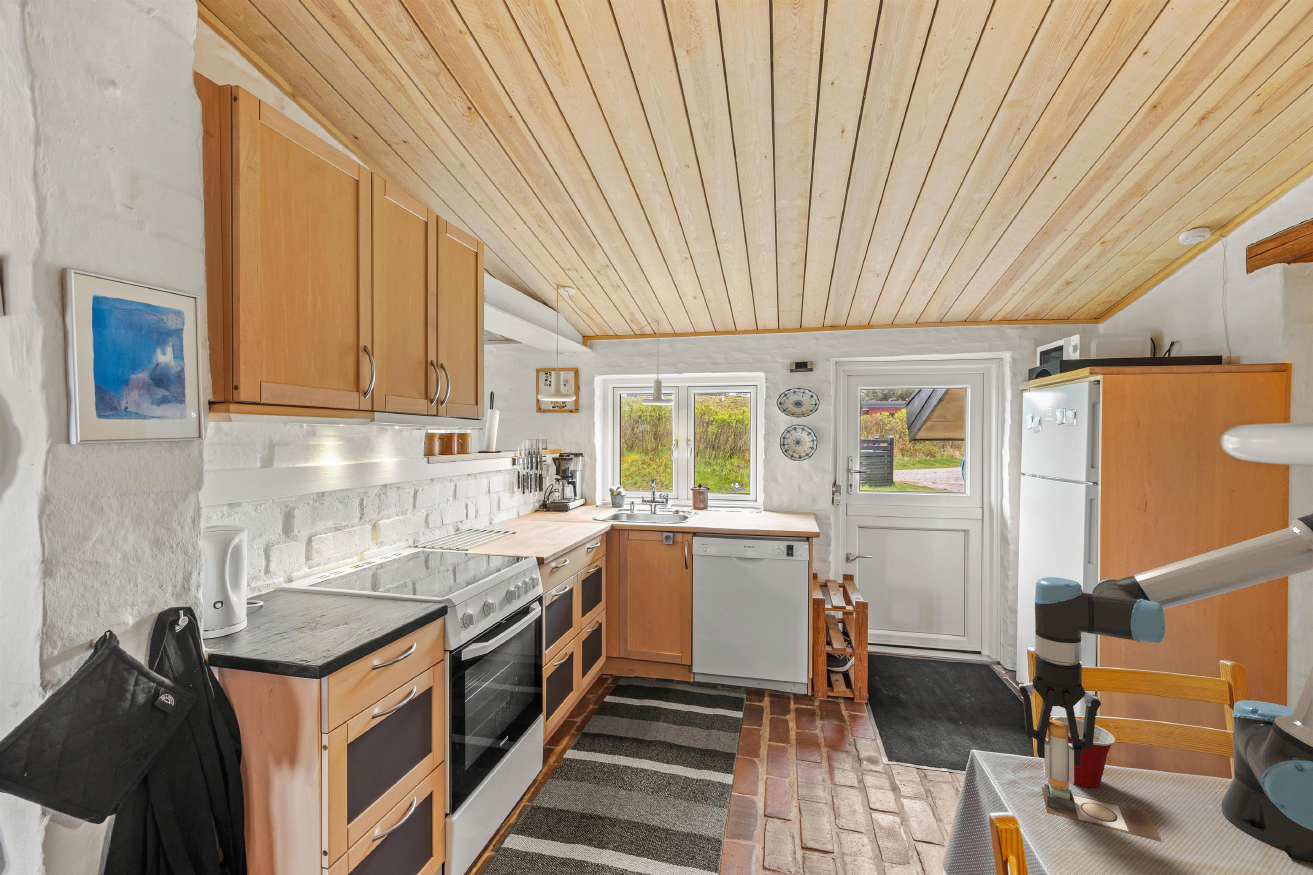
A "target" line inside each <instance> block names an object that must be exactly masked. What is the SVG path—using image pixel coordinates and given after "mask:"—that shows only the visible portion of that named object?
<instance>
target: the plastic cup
mask: <svg viewBox="0 0 1313 875" xmlns="http://www.w3.org/2000/svg"><path fill="white" fill-rule="evenodd" d="M1075 719H1076V724H1077V729H1078V734H1079V739H1083V730H1084V720H1082V719H1080V718H1075ZM1051 720H1058V721H1061V722H1064V723H1066V724H1067V725H1068V721H1067V716H1054V717H1053V718H1052V719H1051ZM1115 741H1116V737H1115V736H1114V735H1113V734H1112V733H1111V732H1110V731H1107V730H1106V729H1105V728H1103V727H1100V726H1098V725H1097V724H1095V729H1094V739H1093V748H1092V749H1087V748H1085V749H1082V751H1081V764H1080V766H1077V765H1074V784H1073V785H1076V786H1078V787H1081V788H1084V789H1088V790H1089V789H1091V790H1093V789H1096V790H1097V789H1099V788H1100V786H1101V782H1102V777H1103V775H1104V770H1105V766H1106V762H1107V758H1108V754H1109V751H1110V749H1111V747H1112V745H1114V743H1115ZM1068 743H1071V744H1072V741H1071V736H1070V731H1069V737H1068Z"/></svg>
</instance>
